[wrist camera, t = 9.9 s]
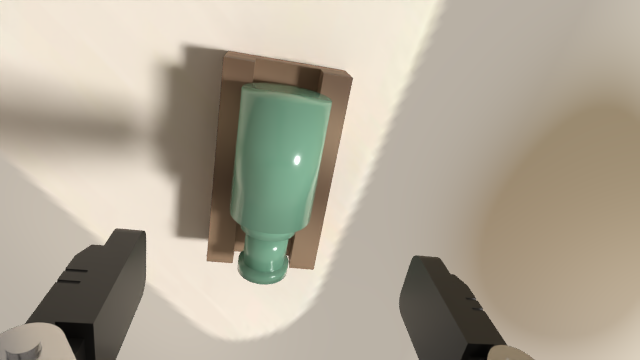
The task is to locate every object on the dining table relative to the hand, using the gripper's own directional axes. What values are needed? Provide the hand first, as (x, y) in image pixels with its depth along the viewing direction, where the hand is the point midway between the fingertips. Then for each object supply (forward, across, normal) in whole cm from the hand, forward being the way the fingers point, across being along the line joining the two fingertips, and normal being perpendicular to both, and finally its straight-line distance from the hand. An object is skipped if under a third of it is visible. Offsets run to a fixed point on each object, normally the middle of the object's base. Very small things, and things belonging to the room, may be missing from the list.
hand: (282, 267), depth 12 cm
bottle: (+8, 0, +1) cm, 8 cm away
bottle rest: (+11, 0, +1) cm, 11 cm away
